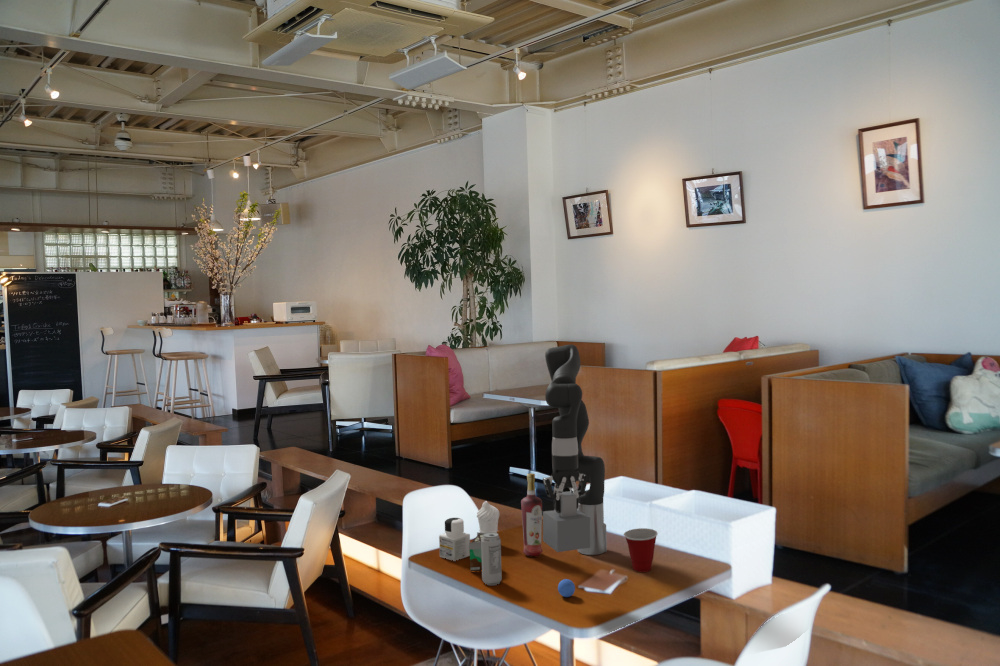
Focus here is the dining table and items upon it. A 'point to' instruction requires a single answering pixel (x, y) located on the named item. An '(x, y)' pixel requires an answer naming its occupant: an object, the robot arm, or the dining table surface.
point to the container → (454, 540)
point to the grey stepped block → (566, 526)
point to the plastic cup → (641, 548)
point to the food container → (476, 553)
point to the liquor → (531, 519)
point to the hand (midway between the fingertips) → (566, 511)
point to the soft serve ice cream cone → (488, 518)
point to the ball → (566, 588)
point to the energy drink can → (491, 558)
